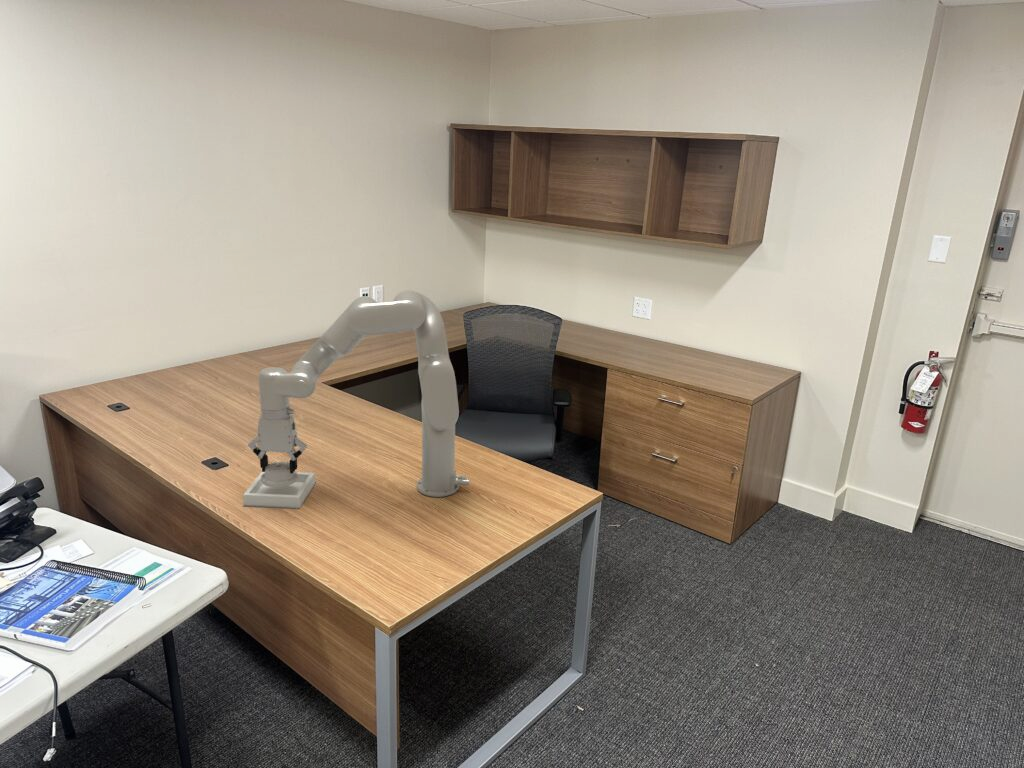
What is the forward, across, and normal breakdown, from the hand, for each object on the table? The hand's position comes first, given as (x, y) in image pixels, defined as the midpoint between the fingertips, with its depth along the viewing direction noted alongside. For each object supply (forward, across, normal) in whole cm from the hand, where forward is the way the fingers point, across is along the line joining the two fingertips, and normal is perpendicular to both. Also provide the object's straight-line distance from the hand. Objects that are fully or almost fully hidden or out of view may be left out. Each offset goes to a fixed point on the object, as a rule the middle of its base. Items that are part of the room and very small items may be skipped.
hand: (279, 470), depth 202 cm
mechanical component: (+3, 0, 0) cm, 3 cm away
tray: (+7, 0, 0) cm, 7 cm away
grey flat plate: (+8, 0, 0) cm, 8 cm away
